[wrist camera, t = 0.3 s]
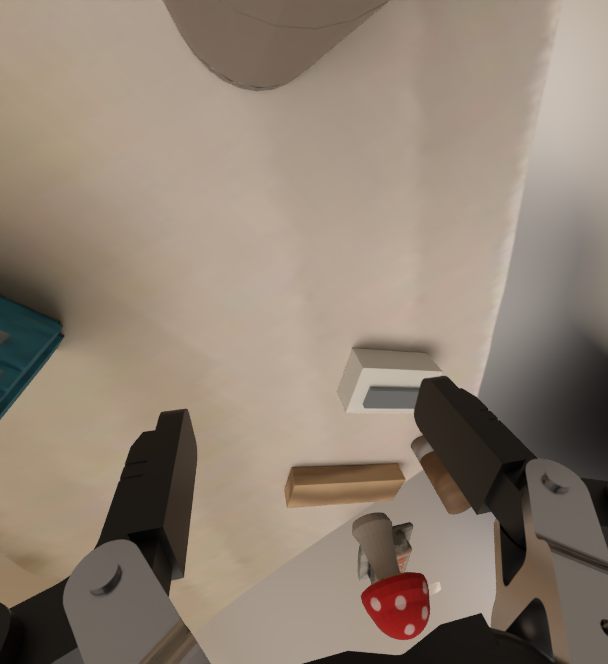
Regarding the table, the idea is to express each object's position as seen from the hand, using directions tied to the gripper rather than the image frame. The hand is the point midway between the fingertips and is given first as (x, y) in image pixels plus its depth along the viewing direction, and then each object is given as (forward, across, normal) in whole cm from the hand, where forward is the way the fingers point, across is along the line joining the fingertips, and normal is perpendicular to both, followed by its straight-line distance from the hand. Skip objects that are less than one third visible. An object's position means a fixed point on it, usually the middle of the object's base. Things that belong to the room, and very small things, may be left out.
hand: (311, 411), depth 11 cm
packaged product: (+21, -20, +60) cm, 67 cm away
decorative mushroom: (+20, -15, +47) cm, 53 cm away
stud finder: (+18, -12, +14) cm, 26 cm away
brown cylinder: (+18, -20, +28) cm, 39 cm away
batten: (+19, -9, +32) cm, 39 cm away
